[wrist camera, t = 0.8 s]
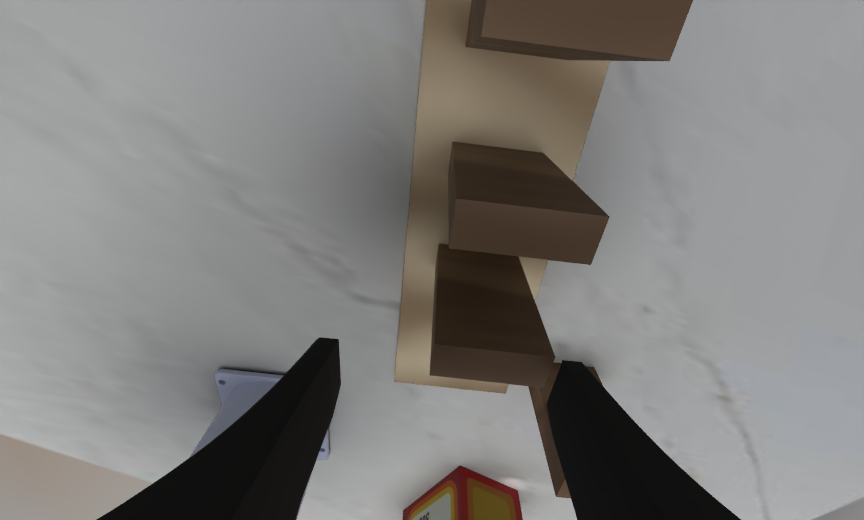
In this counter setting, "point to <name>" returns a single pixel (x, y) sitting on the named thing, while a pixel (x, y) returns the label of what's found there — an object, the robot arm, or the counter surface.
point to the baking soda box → (466, 499)
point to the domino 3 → (486, 321)
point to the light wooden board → (483, 125)
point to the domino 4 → (541, 412)
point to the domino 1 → (579, 28)
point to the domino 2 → (519, 206)
